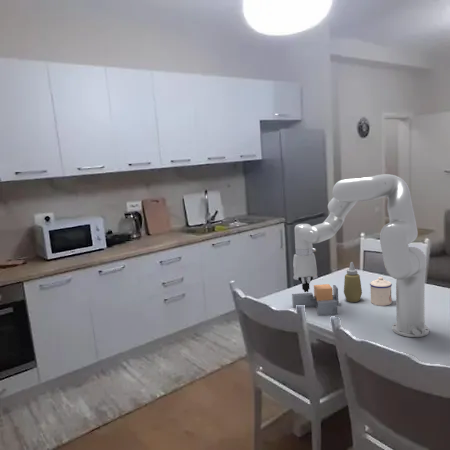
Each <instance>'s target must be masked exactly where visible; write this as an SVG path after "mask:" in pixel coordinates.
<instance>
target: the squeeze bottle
mask: <svg viewBox="0 0 450 450" xmlns="http://www.w3.org/2000/svg"><path fill="white" fill-rule="evenodd" d="M343 283H344V284H343V294H344V297H345V299H346V301H348V302H349V303H350V302H351V303H357V302H360V301H361V297H362V296H363V295H362V294H363V290H362V283H361V275H360V274H359V273H358V269H356V268H355V264H354V262H353V261H351V262H349V267H348V269H346V274H345V275H344V282H343Z"/></svg>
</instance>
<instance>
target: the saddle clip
mask: <svg viewBox="0 0 450 450" xmlns="http://www.w3.org/2000/svg"><path fill="white" fill-rule="evenodd" d="M313 296H315V297H316V298H317V301H321V300H333V286H331V285H330V284H329V283H326V284H314V285H313Z"/></svg>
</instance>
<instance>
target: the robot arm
mask: <svg viewBox="0 0 450 450" xmlns="http://www.w3.org/2000/svg"><path fill="white" fill-rule="evenodd" d="M411 194H412V193H411V191H410V188H409V186H408V184H407V182H406V181H405V180H404V179H403V178H402V177H400V176H397V175H395V174H389V173H384V174H383V173H382V174H377V175H372V176H367V177H361V178H360V177H359V178H356V177H351V178H346V179H340V180H338V181H337V182H336V183H335V184H334V185H333V187H332V196H333V197H332V198H331V199H330V201H329V202H328V204H327V209H328V211H329V215H328V216H327V217H326V218H325V220H324V221H323V222H322V223H317V224H315V225H311V224H309V223H298V224H296V225H294V246H295V247H294V248H295V254H293V259H292V260H293V261H292V265H293V266H292V268H293V269H292V272H293V280H295V281H299V282H300V283H301V288H302V290H303V291H304V293H309V290H310V289H311V288H310V284H311V282H312V281H313V280H314V279H317V278H318V269H317V261H316V255H315V253H314V252H317V249H316V247H315V248H314V247H313V244H319V243H322V242H324V241H327V240H329V239H332V238H333V237H334V236H335V235H336V234H337V232H339V230H340V229H341V228H342V227H343V224H344V222H345V219H346V216H347V215H348V214H349V213H350V211H351V210H352V209H353V208H354V207H355V205H356V204H357V203H358V202H370V201H375V200H379V199H382V198H387V215H388V219H389V222H388V223H386V224H384V225H383V227H381V230H380V233H379V243H380V248H381V254H382V259H383V263H384V267H385V271H386V273H387V274H388V276H390V277H391V278H392V279H395V280H396V281H395V282H396V283H395V284H396V286H395V291H396V292H395V295H396V296H395V297H396V298H395V300H396V306H395V307H396V310H395V311H396V322H395V323H393V324H392V326H391V327H392V331H393V332H394V333H396V334H397V335H400V336H404V337H408V338H422V337H426V336H427V335H429V334H430V327H428V326H427V325H426V324H425V323H426V322H425V321H426V320H425V318H426V317H425V309H426V307H425V285H426V283H425V282H426V281H425V280H426V279H425V278H426V273H427V272H426V271H427V257H426V255H425V252H423V251H422V250H421V249H420V248H418V247H415V246H409V245H410V244H411V243H413V242H415V240H416V239H417V238H418V226H417V221H416V216H415V210H414V206H413V202H412V195H411ZM305 278H306V280H305Z"/></svg>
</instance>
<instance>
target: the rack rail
mask: <svg viewBox="0 0 450 450" xmlns="http://www.w3.org/2000/svg"><path fill="white" fill-rule="evenodd" d="M332 291H333V300H336V301H337V307H338V306H340V303H339V288H338V286H337V285H335V284H332ZM291 299H292V300H291V301H292V308H293V309H294V308H295V307H296V305H305V307H304V308H311V307H312V308H313V307H317V298H316V297H315V296H314V293H312V292H304V293H303V292H302V293H301V292H300V293H291ZM295 309H296V308H295Z"/></svg>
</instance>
